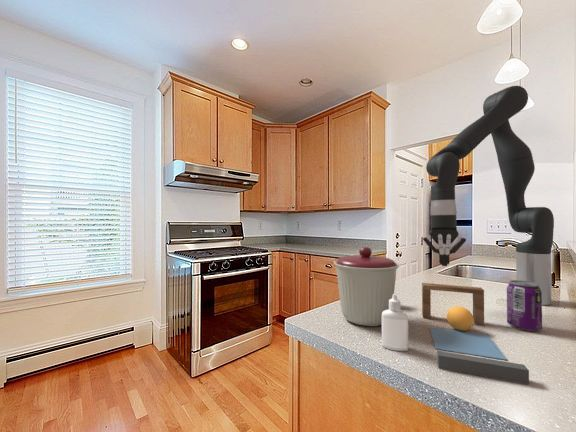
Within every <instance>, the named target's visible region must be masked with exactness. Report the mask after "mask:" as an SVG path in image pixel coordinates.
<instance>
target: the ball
mask: <svg viewBox="0 0 576 432" xmlns="http://www.w3.org/2000/svg"><path fill="white" fill-rule="evenodd" d="M446 319H447V322H448V324H449V326H451V327H452V328H453V329H454V330H457V331H465V332H466V331H468V330H470V329H472V328H473V326H474V324H475V323H474V318H473V313H472V312H471V311H469V309H467V308H466V307H464V306H458V305H457V306H452V307H451V308H449V309H448V310H447V313H446Z"/></svg>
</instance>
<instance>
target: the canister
mask: <svg viewBox="0 0 576 432" xmlns="http://www.w3.org/2000/svg"><path fill="white" fill-rule="evenodd" d="M358 253H359V254H358V255H357V254H356V255H345V256H341V257H339V258H338V259H336V260H334V261H333V265H335V266H336V267H335V268H336V277H337V284H338V285H337V286H338V295H339V301H340V302H339V303H340V308H341V313H342V316H343V317H344V318H345V319H346V320H347V321H348V322H350V323H352V324H355V325H359V326H365V327H378V326H382V312H383V311H385V310H388V309H389V300H390V299H392V297H393V294H395V288H396V279H397V278H396V277H397V269H398V268H400V264H399V263H397V262H395V260H393V259H391V258H388V257H385V256H380V255H379V256H378V255H372V253H373V251H372V249H371V248H370V247H368V246H363V247H360V249H359V250H358Z"/></svg>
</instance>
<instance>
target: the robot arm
mask: <svg viewBox="0 0 576 432" xmlns="http://www.w3.org/2000/svg"><path fill="white" fill-rule="evenodd" d="M528 101H529V94H528V92H527V90H526V89H525V88H524V87H523V86H520V85H511V86H508V87H506V88H503V89H502V90H499V91H497V92H494V93H493V94H490V95H488V96H487V97H485V99H484V101H483V104H482V105H483V106H482V110H483V115H482V116H481V117H479V118H478V119H476V120H475V121H474V122H472V123H471V124H469V125H468V126H467V127H465V128H464V129H462V130H461V131H460V132H459V133H458V134H457V135H456V136H455V137H454V138H453V139H452V140H451V141H450V142H449V143H448V144H447V145H445V146H444V147H443V148H441V149H440V150H439V151H438V152H436V153H435V154H433V156H431V157H430V158H429V160H428V161H427V163H426V166H425V168H426V169H425V170H426V172H427V173H428V175H429V176H431V177H435V178H436V177H437V178H436V182H434V183H433V184H432V185H431V187H430V207H429V208H430V230H429V232H428V235H427V236H424V237H423V238H422V240H423V242H424V243H425V244H426V245H427V246H428V247H429V248H430V249H431V251H432V252H433V253H435V254H438V262H439V264H440V265H441V266H442V267H448V265H450V255H453V254H455V253H457V251H458V250H459V249H460V248H461V247H462V246H463V245H464V244H465V243H466V242H467V239H466V238H464V237H462V236H461V235H460V234H459V231H458V230H457V228H458V227H457V225H458V223H457V213H458V211H457V203H456V184H457V182H458V177H459V173H460V168H461V167H460V166H461V164H460V160H462V159H465V157H467V156H469V155H470V153H472V151H474V150H475V149H476V148H477V147H478V146H479V145H480V144H481V143H482V142H483V141H485V139H486V138H487V137H488V136H490V135H491V138H492V141H493V145H494V149H495V151H496V153H495V154H496V156H497V157H496V158H497V162H498V167H499V171H500V175H501V178H502V182H503V187H504V191H505V198H506V206H507V214H508V215H507V216H508V221H509V224H510V227H511V229H512V230H513V231H514V232H515V233H521V234H531V237H530V239H528V240H526V241H522V242H519V243H517V244H516V245H515V265H516V266H515V269H516V270H515V273H516V274H515V280H519V281H528V282H533V283H537V284H539V288H540V290H541V292H542V306H550V305H552V301H553V300H552V290H553V289H552V247H553V243H554V227H555V217H554V213H553V212H552V210H551V209H550V208H548V207H546V206H534V207H533V206H532V207H531V206H528V207H527V206H526V202H525V193H526V191H527V188H528V186H529V184H530V182H531V180H532V178H533V175H534V173H535V170H536V168H535V161H534V157H533V154H532V151H531V148H530V147H529V146H528V145H527V144H526V143H525V142H524V141H523V140H522V138H520V137H519V136H518V135H517V134H515V132H514V131H513V129H512V127H511V124H510V119H511V118H513V117H514V116H516V115H517V114H518V113H520V112H521V111H523V109H525V107H526V106H527V104H528ZM432 240H433V241H434V242H435V243H436V244H437V248H436V247H435V246H434V244H432V243H431V242H432ZM455 240H456V243H455V244H454V245H453V246H452V247H451V244H453V243H454V241H455Z"/></svg>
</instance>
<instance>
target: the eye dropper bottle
mask: <svg viewBox="0 0 576 432" xmlns="http://www.w3.org/2000/svg"><path fill="white" fill-rule="evenodd" d="M381 346H382V347H383V348H385V349H388V350H391V351H397V352H407V351H408V350H409V316H408V314H407V313H406V312H404V311H403V310H401V300H399V299H398V297H397V294H395V293H394V294H393V297H392V299H390V300H389V309H388V310H385V311H383V312H382V325H381Z"/></svg>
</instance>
